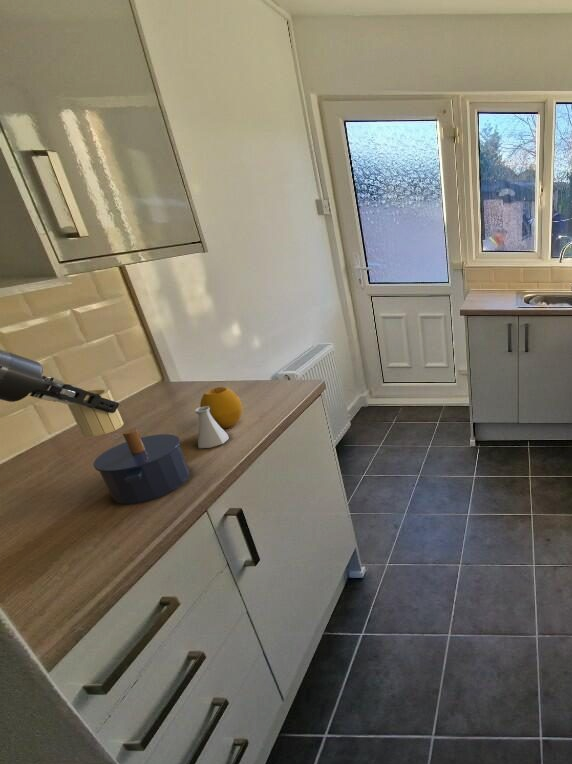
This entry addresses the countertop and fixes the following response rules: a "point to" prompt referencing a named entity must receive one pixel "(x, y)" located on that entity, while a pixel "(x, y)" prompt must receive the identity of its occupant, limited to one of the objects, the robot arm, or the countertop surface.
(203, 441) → the flask
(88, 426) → the pale yellow hollow cylinder
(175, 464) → the pot
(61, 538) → the countertop surface
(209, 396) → the round orange vase
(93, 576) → the countertop surface
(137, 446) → the pot lid
